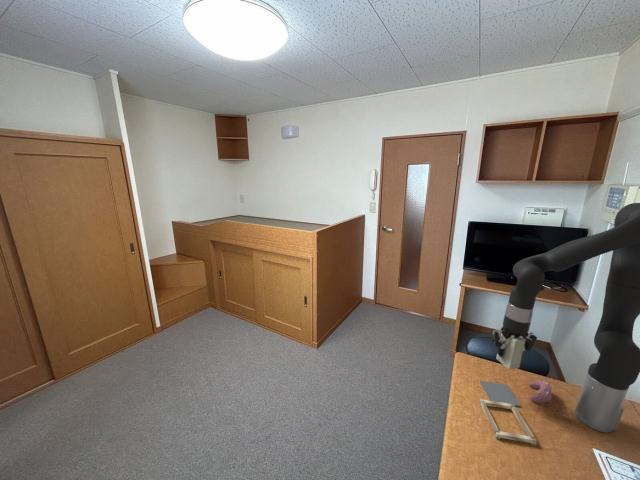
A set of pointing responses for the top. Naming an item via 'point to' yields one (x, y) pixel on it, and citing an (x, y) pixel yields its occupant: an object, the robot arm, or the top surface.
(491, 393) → the coaster
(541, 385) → the video game controller
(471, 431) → the top surface
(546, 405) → the top surface
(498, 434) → the wooden rectangular frame
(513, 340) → the skincare box
